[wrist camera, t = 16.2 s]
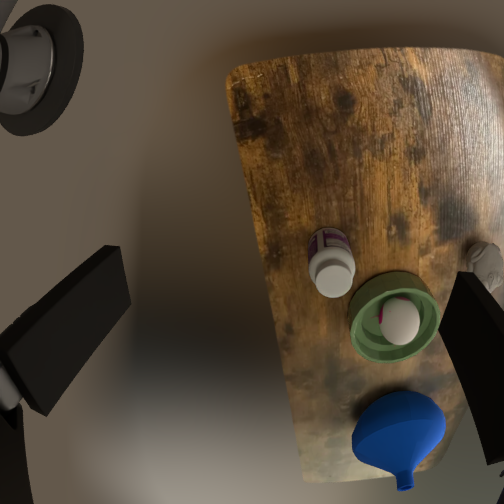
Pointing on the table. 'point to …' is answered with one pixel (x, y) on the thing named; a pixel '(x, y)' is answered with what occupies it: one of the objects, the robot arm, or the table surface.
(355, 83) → the table surface
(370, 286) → the green bowl
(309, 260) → the pill bottle
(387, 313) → the stress ball
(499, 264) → the frog figurine
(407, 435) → the vase
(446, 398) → the table surface
